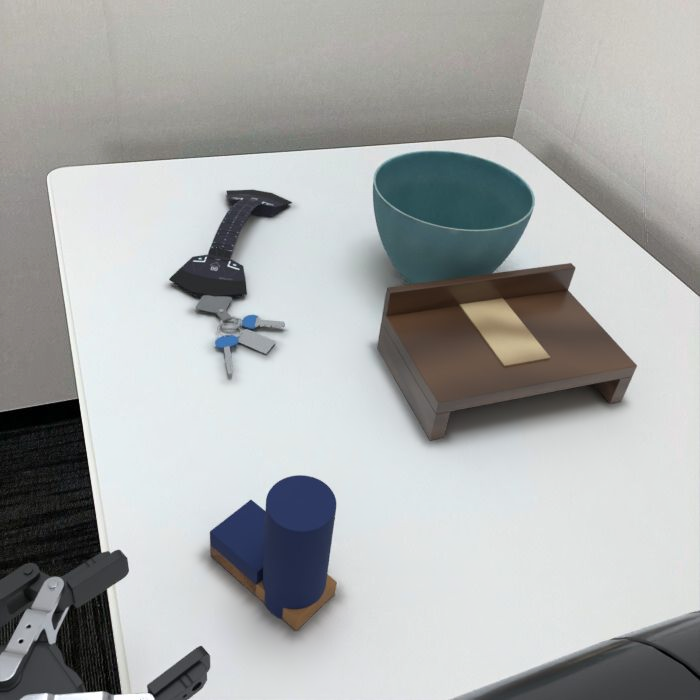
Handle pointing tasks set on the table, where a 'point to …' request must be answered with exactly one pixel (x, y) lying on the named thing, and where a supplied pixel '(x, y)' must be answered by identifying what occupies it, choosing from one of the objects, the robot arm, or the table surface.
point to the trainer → (282, 547)
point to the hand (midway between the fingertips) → (163, 606)
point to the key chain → (248, 337)
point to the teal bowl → (448, 214)
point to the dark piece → (226, 248)
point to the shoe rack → (495, 342)
